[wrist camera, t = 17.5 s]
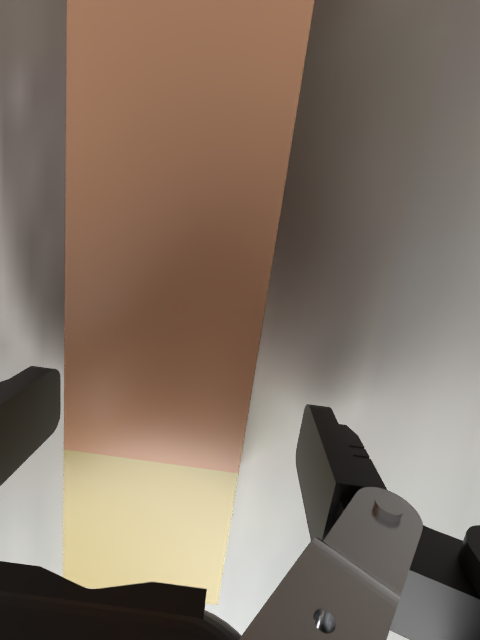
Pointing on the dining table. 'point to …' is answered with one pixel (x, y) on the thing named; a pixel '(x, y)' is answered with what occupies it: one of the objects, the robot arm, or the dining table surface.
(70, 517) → the plug
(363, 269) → the dining table surface
